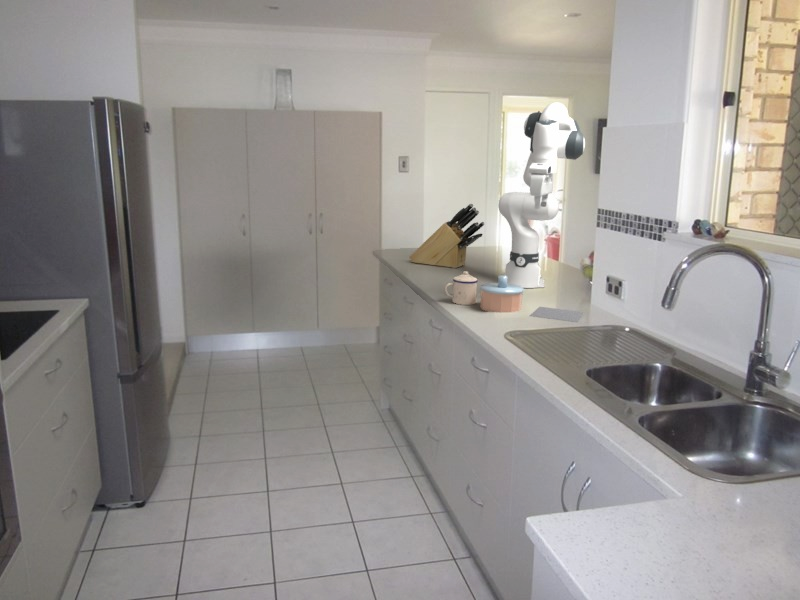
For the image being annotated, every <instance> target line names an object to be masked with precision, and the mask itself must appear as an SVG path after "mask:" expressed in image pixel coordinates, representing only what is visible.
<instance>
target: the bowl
mask: <svg viewBox="0 0 800 600" xmlns="http://www.w3.org/2000/svg"><path fill="white" fill-rule="evenodd" d="M523 293H524V291H523V292H522V293H520V294H495V293H489V292H485V291H483V290H481V291H480V306H479V308H480V307H481V308H482V309H481V308H480V309H481V310H482V311H484V310H485V312H496V313H516V312H519V311H520V310H522V307H523V306H522V305H523V304H522V302H523Z"/></svg>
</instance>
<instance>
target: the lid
mask: <svg viewBox="0 0 800 600" xmlns="http://www.w3.org/2000/svg"><path fill="white" fill-rule="evenodd" d="M507 278H508V276H505V274H501V275H500V274H499V275H498V277H497V279H498V280H497V282H488V283H483V284H481V286H480V289H481V290H483V291H485V292H489V293H495V294H520V293H522V292H523V293H524V289H525V288H523V287H521V286H518V285H514V284H507ZM523 293H522V294H523Z"/></svg>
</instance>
